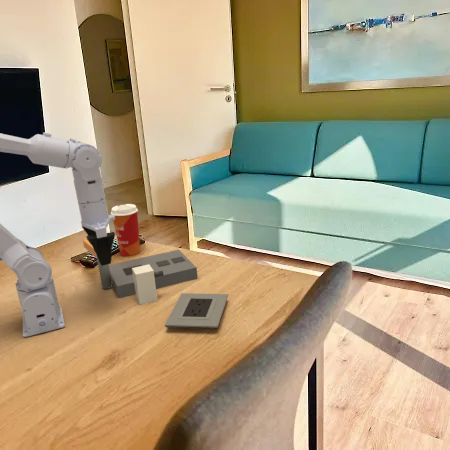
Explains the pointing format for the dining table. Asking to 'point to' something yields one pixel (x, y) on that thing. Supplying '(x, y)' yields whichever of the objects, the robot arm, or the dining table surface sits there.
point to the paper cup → (127, 229)
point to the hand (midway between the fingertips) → (103, 258)
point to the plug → (145, 283)
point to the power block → (167, 262)
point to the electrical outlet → (197, 311)
